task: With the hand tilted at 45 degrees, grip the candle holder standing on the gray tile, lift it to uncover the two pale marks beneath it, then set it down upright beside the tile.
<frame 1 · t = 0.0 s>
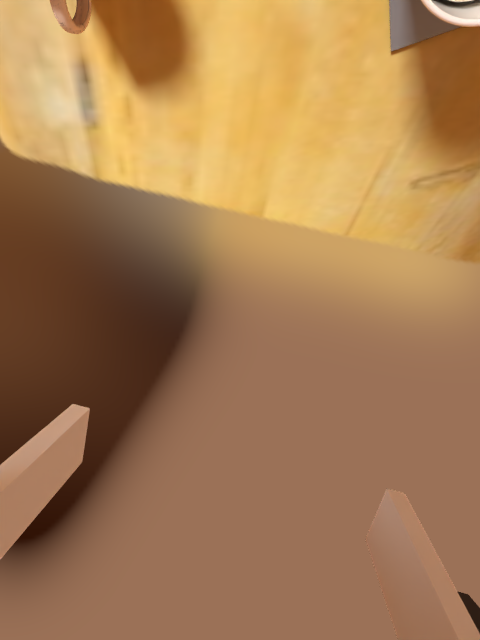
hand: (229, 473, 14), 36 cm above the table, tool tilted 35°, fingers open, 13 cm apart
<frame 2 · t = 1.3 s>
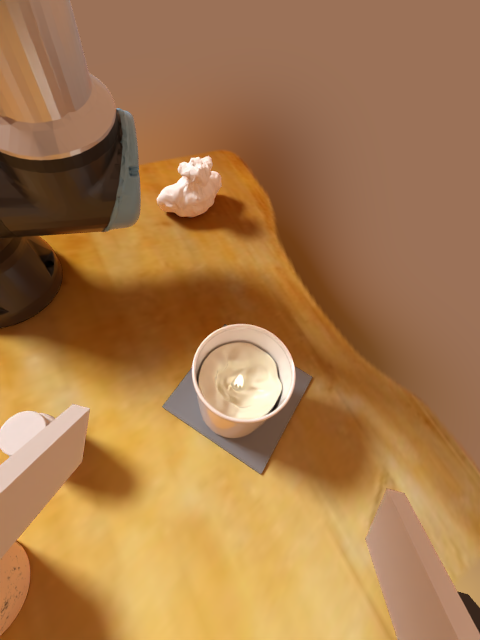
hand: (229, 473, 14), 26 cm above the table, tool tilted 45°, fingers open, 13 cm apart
candle holder: (232, 404, 42), resting on gray tile
gray tile: (240, 391, 43), on the table
pill bottle: (56, 448, 38), on the table
bust: (192, 210, 58), on the table
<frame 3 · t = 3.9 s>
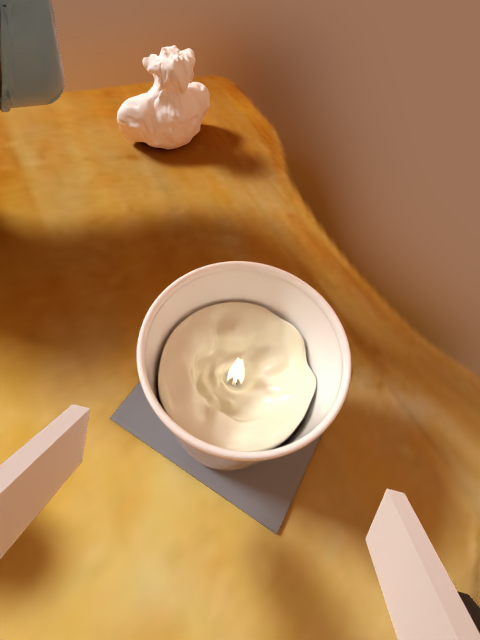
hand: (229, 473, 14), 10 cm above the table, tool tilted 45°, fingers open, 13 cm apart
candle holder: (226, 412, 26), resting on gray tile
gray tile: (240, 392, 27), on the table
bust: (170, 142, 42), on the table
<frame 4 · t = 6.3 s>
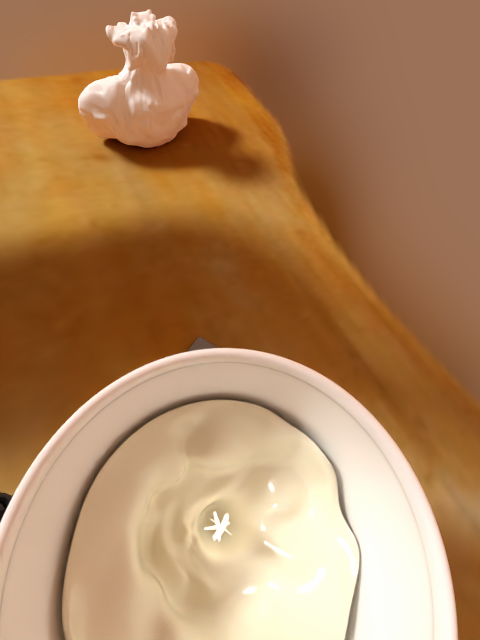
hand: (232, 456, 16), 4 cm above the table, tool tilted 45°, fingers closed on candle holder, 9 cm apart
candle holder: (210, 531, 18), resting on gray tile, touching gripper
bust: (151, 139, 34), on the table
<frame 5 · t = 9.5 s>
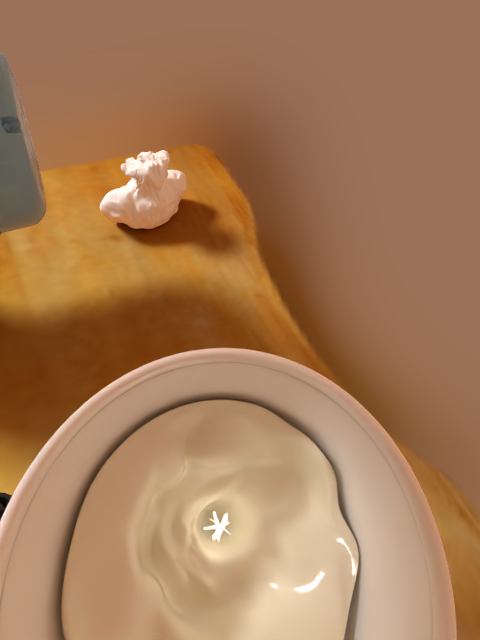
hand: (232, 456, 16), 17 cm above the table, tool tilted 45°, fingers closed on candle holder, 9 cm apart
candle holder: (210, 531, 18), point 13 cm above the table, touching gripper
bust: (151, 219, 46), on the table
when the fingers open (5 cm above the table, at t = 13.2 s): candle holder drops 2 cm, on the table.
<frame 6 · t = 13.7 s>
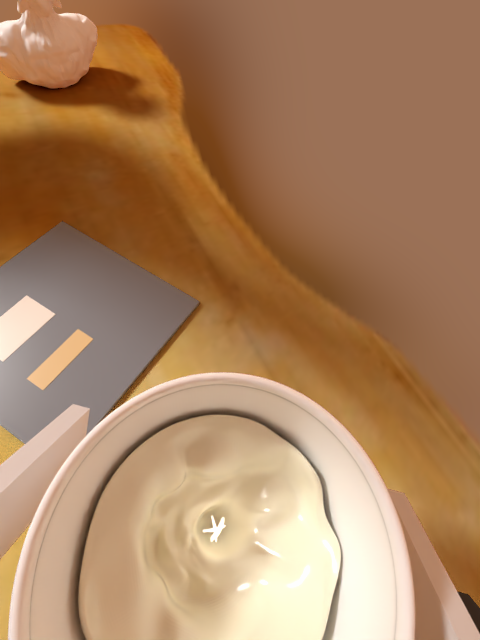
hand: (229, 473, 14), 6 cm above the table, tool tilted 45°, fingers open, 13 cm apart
candle holder: (209, 532, 19), on the table
gray tile: (62, 323, 24), on the table
bust: (59, 83, 39), on the table
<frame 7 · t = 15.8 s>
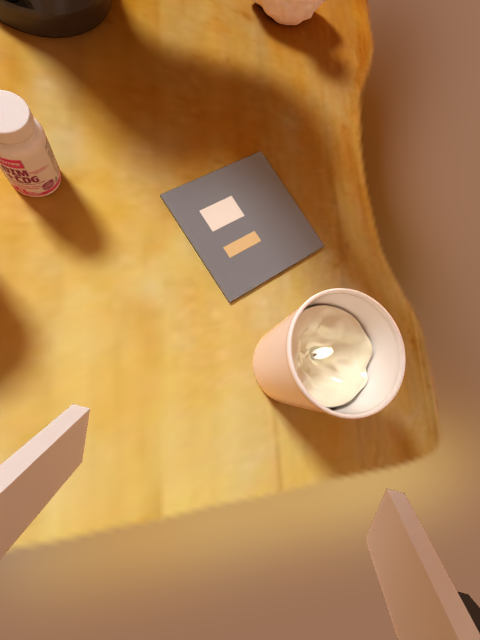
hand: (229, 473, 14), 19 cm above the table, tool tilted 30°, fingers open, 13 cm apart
candle holder: (287, 364, 36), on the table
gray tile: (245, 222, 39), on the table
pill bottle: (37, 178, 34), on the table
bust: (282, 17, 47), on the table
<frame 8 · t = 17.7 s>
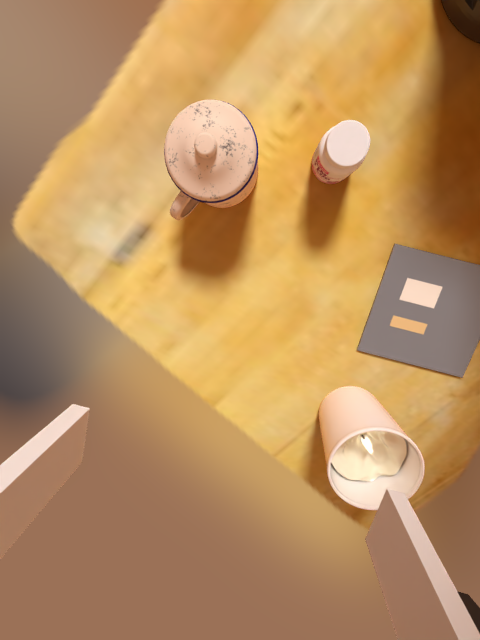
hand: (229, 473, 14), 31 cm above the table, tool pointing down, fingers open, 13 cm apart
candle holder: (348, 412, 46), on the table
gray tile: (429, 312, 42), on the table
pill bottle: (331, 163, 39), on the table
teacup with lid: (215, 180, 41), on the table
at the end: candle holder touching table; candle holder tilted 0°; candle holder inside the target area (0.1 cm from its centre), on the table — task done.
